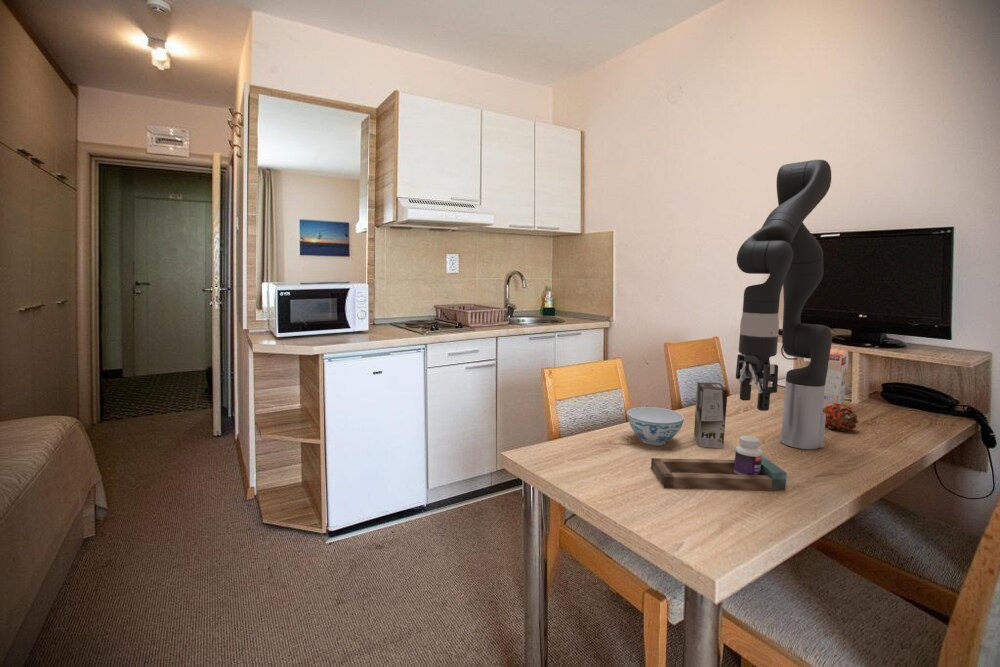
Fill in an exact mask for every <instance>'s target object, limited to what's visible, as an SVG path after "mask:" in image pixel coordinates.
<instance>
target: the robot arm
mask: <svg viewBox="0 0 1000 667" xmlns="http://www.w3.org/2000/svg"><path fill="white" fill-rule="evenodd" d="M831 183H832V169H831V166H830V164H829V162H828V161H827V160H824V159H812V160H806V161H805V160H804V161H799V162H791V163H786V164H783V165H782V166H780V167H779V169H778V171H777V174H776V194H777V195H776V196H777V204H778V205H777V206H776V207H775V208H774V209H773V210H772V211H771V212H770V213H769V214H768V216H767V218H766V219H765V221H764V222H763V224H762V226H761V228H759V229H758V230H757V231H756V232H754V233H753V234H751V235H750V236H749V237H748V238H747V239H746V240H745V241H744V242H743V243H742V244H741V245H740V247H739V249H738V251H737V254H736V264H737V267H738V269H739V270H740V271H741V272H743V273H745V274H750V275H753V274H756V275H761V274H762V275H769V276H768V278H767V279H766V281H764V282H762V283H759V284H752V285H748V286H747V287H745V289H744V291H743V303H742V314H741V318H740V324H739V328H740V329H739V337H738V338H739V341H738V342H739V343H738V353H739V354H737V356H736V358H737V359H736V368H735V379H736V380H738V383H739V384H740V387H739V399H740V400H741V401H748V402H749V401H750V400H751V396H752V382H753V383H754V384H755V385H756V387H757V392H758V393H757V405H756V406H757V407H756V409H757V410H759V411H761V412H763V411H764V412H766V411H769V410H770V400H771V394H773V393H774V394H776V393H778V381H779V380H778V378H779V377H778V376H779V365H778V364H772V363H771V362H770V361H771V360H770V358H772V357H775V356H776V355H777V353H778V342H779V328H780V319H779V318H780V317H779V312H780V301H781V300H780V299H781V293H783V310H782V311H783V314H782V315H783V316H782V330H781V331H782V334H781V337H782V338H781V342H782V349H783V352H784V353H785V354H786V355H787V356H790V357H795V358H801V359H809V360H810V361H809V364H808V365H807V366H804V367H800V368H794V369H790V370H787V371H786V375H785V386H784V387H785V388H784V399H783V408H782V421H781V422H782V423H781V432H780V433H781V434H780V442H781V443H782V444H784V445H786V446H789V447H792V448H796V449H802V450H816V449H820V448H824V441H825V440H824V439H825V432H826V430H825V429H826V423H825V422H826V413H824V412H823V404H824V393H825V383H826V376H827V371H828V362H829V356H830V350H831V348H832V344H833V334H832V329H831V328H830V327H829V326H827V325H824V324H813V323H812V324H811V323H802V322H801V315H802V312H803V307H804V306H805V304H806V303H807V302H808V299H809V298H810V297H811V296H812V294H813V293H814V292H815V290H816V289H817V287H818V286H819V284H820V283H821V281H822V279H823V277H824V251H823V248H822V246H821V244H820V242H819V241H818V239H817V238H816V237H815V236H814V235H813V233H812V232H811V231H810V230H809V228H807V226H806V224H804V221H805V220H806V219H807V217H808V216H809V215H810V214H811V213H812V212H813V210H815V208H816V207H817V206H818V205H819V204H820V202H821V201H822V200H823V199H824V198H825V197H826V196H827V194H828V192H829V189H830V187H831ZM782 290H783V292H782Z"/></svg>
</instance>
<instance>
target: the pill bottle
mask: <svg viewBox="0 0 1000 667" xmlns="http://www.w3.org/2000/svg"><path fill="white" fill-rule="evenodd" d="M759 447H760V439H759V438H757V437H754V436H750V435H741V436H740V437H739V445H737V446H736V447H735V455H734V460H735V465H734V473H733V475H760V471H761V460H762V455H763V451H762V450H761V449H760V448H759Z"/></svg>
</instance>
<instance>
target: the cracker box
mask: <svg viewBox="0 0 1000 667" xmlns="http://www.w3.org/2000/svg"><path fill="white" fill-rule="evenodd" d="M849 357H850V350H849V349H844V348H842V349H841V348H833V347H831V350H830V356H829V362H828V371H827V376H826V383H825V393H824V404H823V408H825V407H826V406H831V405H834V404H833V403H837V404H841V405H842V404H845V402H844V400H845V394H846V393H845V392H846V386H847V376H848V369H849V360H850V358H849Z"/></svg>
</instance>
